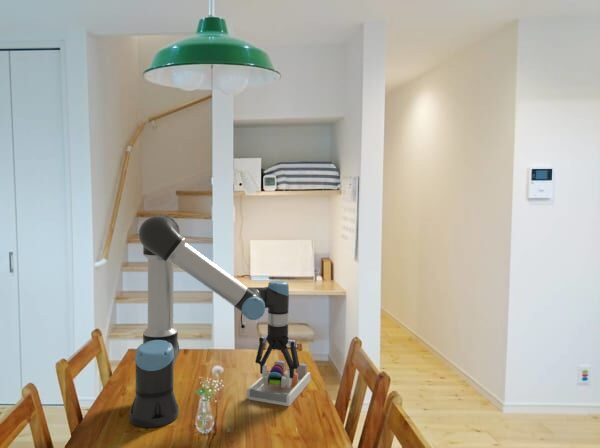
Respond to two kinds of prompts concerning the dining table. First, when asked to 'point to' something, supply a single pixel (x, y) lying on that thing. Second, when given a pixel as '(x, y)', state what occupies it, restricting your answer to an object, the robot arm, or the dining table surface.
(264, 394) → the grey tray
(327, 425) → the dining table surface
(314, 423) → the dining table surface
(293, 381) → the pusher
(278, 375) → the multicolored domed toy
